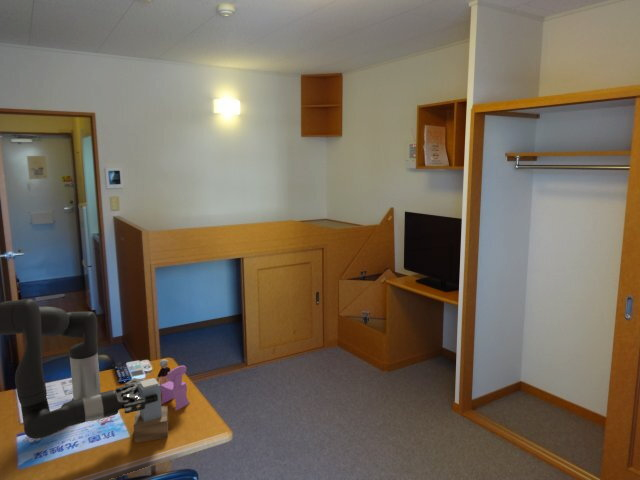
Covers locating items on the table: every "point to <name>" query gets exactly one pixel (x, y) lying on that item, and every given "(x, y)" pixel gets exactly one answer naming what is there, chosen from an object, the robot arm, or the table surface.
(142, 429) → the walnut block
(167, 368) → the grandmother figurine
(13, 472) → the table surface
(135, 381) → the dice cube
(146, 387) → the slate-blue canister
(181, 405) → the toy chair
